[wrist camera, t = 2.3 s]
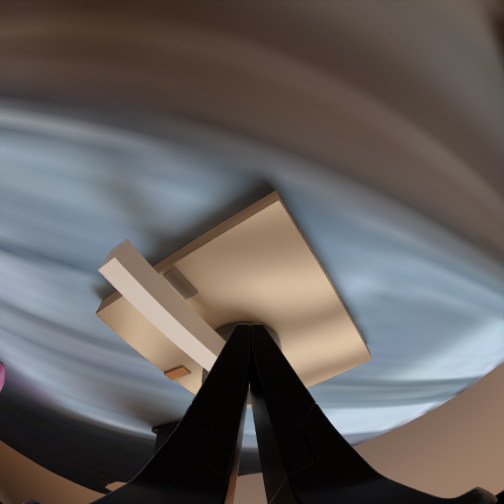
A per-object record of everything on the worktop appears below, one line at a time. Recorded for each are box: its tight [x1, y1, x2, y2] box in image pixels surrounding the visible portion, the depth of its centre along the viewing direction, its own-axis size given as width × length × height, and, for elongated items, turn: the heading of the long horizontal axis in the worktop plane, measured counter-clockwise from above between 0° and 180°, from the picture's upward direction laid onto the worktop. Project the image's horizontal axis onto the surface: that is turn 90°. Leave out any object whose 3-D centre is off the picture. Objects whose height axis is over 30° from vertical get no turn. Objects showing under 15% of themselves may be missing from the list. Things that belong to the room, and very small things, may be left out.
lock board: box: [96, 190, 372, 408], centre depth 20 cm, size 15×14×2 cm
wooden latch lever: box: [99, 239, 282, 405], centre depth 16 cm, size 13×5×3 cm, turn 33°
